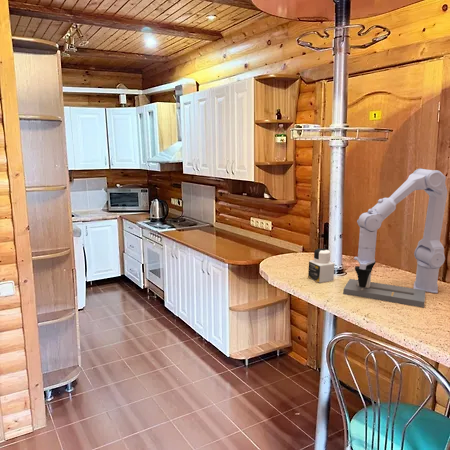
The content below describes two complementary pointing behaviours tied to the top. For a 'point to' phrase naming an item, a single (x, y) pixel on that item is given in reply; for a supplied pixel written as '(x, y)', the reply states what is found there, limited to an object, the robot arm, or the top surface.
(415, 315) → the top surface
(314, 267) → the medicine bottle
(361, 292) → the fader console
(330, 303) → the top surface
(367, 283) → the fader tab
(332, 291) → the top surface
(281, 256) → the top surface
